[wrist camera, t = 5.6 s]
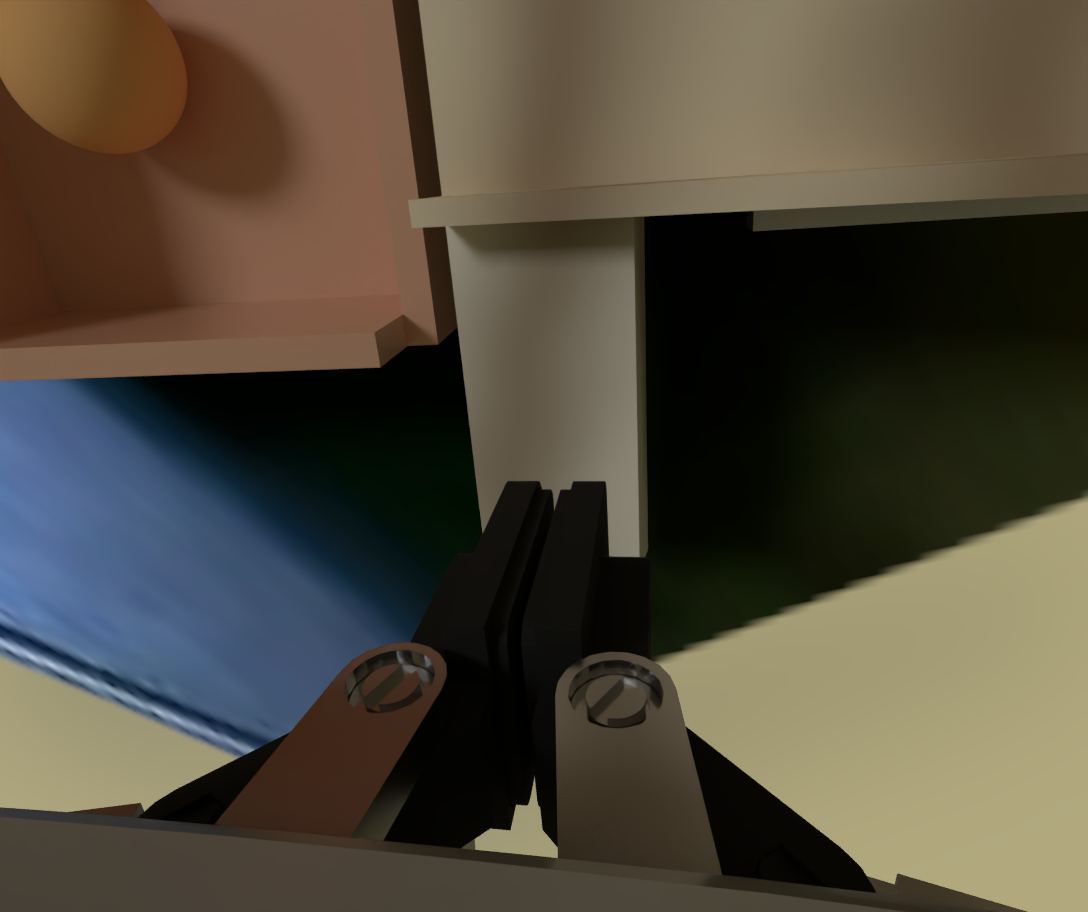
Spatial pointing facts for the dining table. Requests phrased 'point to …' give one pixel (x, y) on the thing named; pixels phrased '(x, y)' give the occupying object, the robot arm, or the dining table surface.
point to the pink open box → (236, 208)
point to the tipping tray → (696, 175)
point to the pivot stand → (912, 212)
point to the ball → (94, 70)
